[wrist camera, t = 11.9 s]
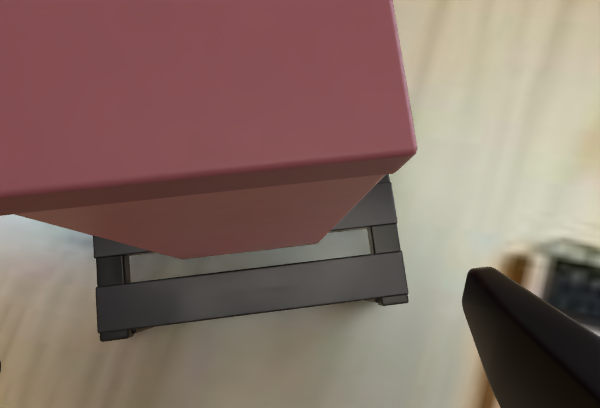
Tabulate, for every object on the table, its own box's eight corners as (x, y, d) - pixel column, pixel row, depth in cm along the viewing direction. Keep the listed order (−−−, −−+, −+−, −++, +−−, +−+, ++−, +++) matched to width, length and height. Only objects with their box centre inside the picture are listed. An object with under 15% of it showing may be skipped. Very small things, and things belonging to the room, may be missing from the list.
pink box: (320, 245, 17) (421, 153, 5) (178, 261, 17) (-63, 203, 5) (303, 112, 18) (356, -231, 6) (168, 125, 17) (-61, -211, 6)
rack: (387, 299, 20) (428, 305, 15) (129, 332, 19) (72, 351, 14) (355, 83, 22) (381, 17, 16) (115, 105, 21) (60, 43, 16)
